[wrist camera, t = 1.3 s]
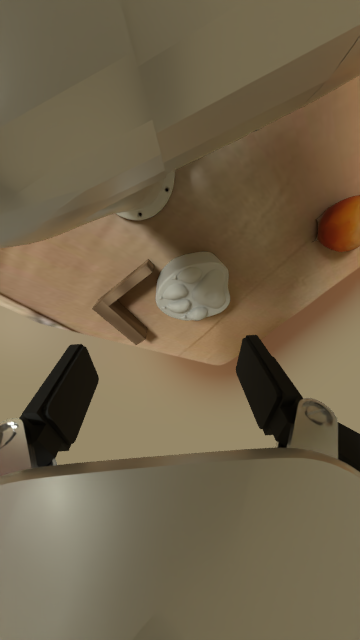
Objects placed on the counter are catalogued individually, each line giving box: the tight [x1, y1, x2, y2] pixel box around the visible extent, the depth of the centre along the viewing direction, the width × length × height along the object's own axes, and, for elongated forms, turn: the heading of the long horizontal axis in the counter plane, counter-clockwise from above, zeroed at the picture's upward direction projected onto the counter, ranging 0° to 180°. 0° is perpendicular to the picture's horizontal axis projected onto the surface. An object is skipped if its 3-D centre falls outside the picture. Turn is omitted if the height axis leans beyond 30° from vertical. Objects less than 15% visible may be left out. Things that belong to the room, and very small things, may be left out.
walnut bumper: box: [92, 259, 154, 345], centre depth 36 cm, size 14×12×4 cm
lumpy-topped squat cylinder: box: [156, 252, 230, 321], centre depth 32 cm, size 10×13×9 cm
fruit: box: [312, 195, 360, 252], centre depth 30 cm, size 8×8×8 cm
